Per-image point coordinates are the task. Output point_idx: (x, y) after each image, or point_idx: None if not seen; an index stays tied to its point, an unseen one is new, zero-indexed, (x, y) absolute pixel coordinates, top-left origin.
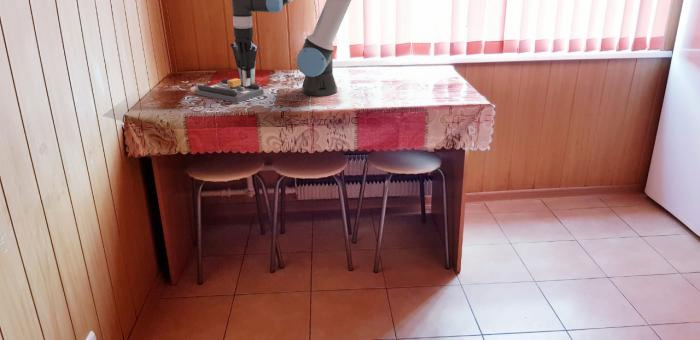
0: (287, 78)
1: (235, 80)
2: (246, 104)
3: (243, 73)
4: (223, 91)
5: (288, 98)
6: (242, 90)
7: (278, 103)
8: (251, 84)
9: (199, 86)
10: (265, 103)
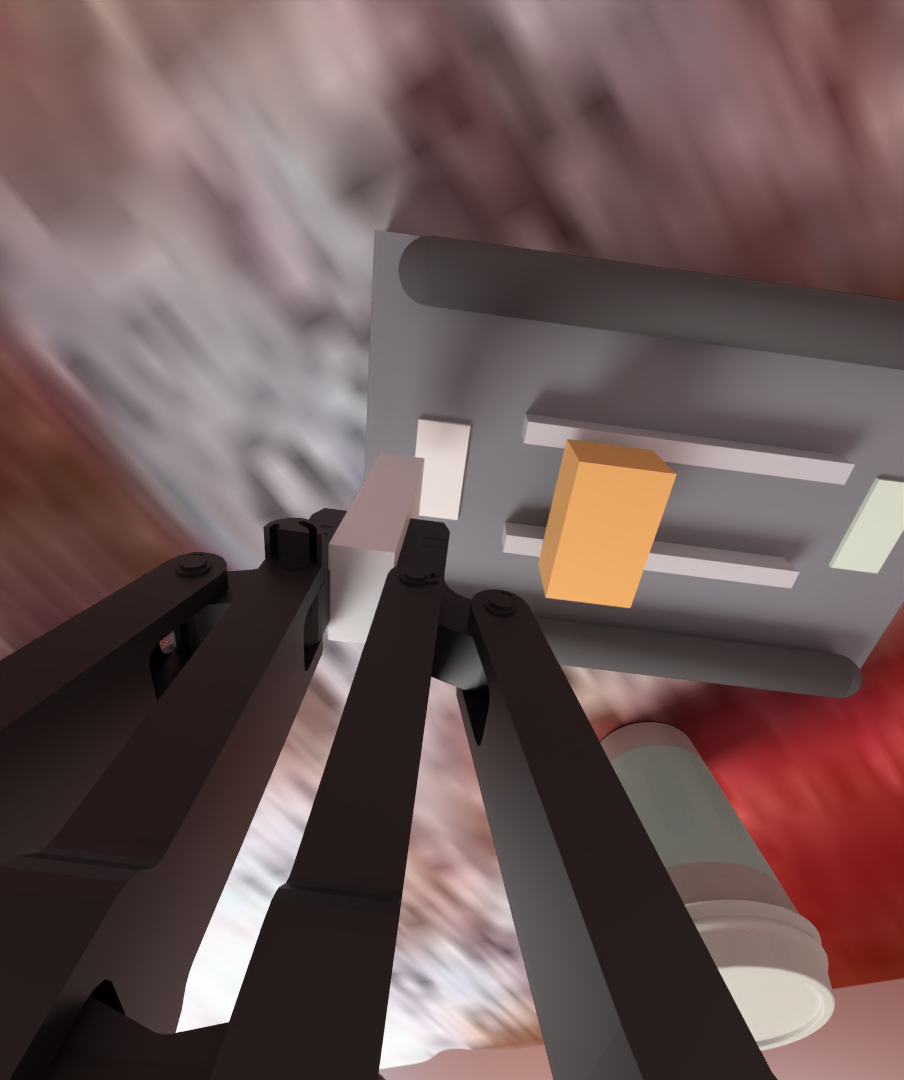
0: (471, 916)
1: (575, 525)
2: (251, 208)
3: (375, 523)
4: (610, 262)
5: (103, 564)
6: (509, 518)
7: (34, 396)
8: None
9: None
10: (125, 341)
